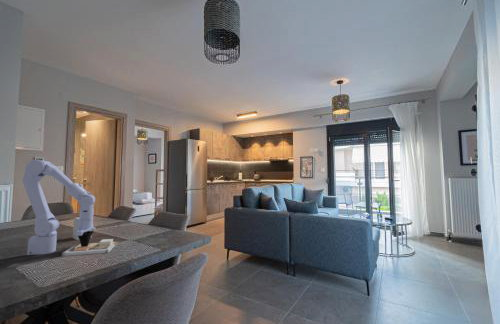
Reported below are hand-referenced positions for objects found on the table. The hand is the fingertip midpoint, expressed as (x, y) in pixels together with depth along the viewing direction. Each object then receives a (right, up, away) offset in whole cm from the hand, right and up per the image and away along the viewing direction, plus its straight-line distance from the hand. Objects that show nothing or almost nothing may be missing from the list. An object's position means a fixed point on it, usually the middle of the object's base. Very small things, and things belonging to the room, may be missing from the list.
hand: (84, 247), depth 111 cm
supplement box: (-15, -3, +19) cm, 24 cm away
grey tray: (+5, -2, -4) cm, 7 cm away
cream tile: (+6, -1, +7) cm, 9 cm away
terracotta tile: (+1, -1, -3) cm, 4 cm away
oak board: (+3, -2, +5) cm, 6 cm away
